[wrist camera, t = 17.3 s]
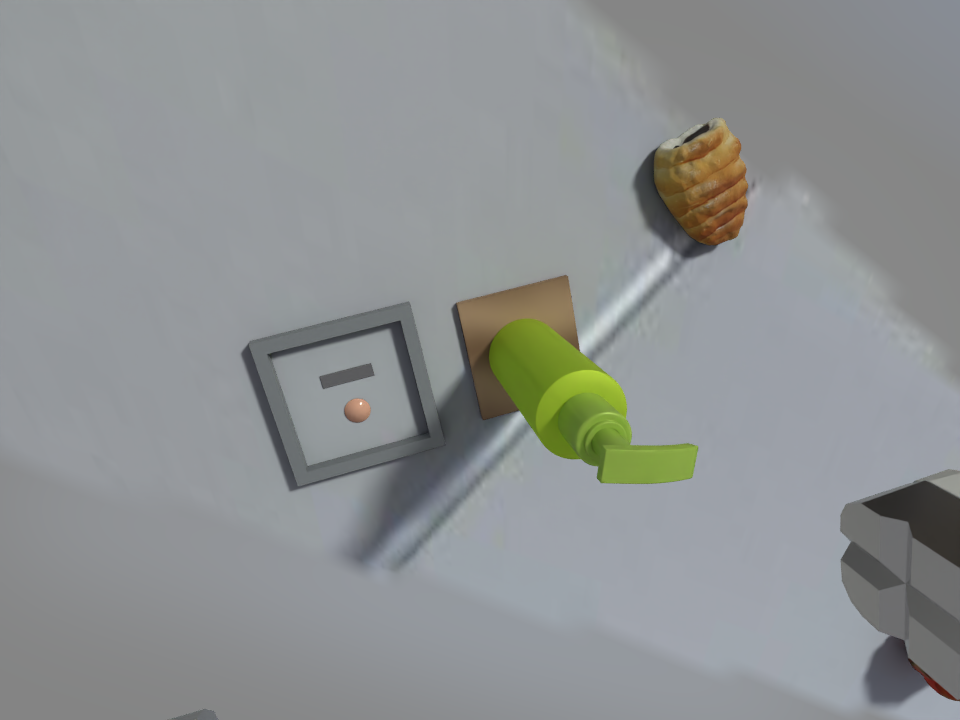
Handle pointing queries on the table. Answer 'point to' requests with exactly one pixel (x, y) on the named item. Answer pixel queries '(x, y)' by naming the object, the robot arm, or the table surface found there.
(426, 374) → the slate frame
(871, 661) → the table surface
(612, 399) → the soap dispenser
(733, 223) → the pastry
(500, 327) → the walnut pad
